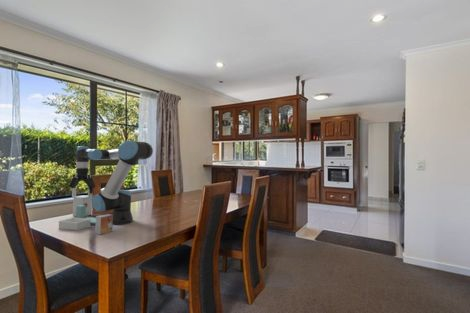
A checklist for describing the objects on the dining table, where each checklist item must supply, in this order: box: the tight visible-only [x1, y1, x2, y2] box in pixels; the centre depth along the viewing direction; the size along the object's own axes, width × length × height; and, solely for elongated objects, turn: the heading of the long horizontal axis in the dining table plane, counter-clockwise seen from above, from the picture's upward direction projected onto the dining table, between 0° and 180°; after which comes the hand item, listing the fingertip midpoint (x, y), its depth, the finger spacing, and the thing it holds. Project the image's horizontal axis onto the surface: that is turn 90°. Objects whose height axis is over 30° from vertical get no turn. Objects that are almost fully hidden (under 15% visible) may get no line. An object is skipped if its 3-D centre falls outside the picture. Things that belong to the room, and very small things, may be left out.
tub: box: [58, 216, 91, 232], centre depth 158 cm, size 14×10×5 cm
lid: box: [75, 205, 96, 224], centre depth 172 cm, size 19×11×11 cm, turn 77°
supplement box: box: [72, 195, 93, 217], centre depth 190 cm, size 9×9×15 cm
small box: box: [94, 213, 114, 235], centre depth 151 cm, size 8×6×10 cm
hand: (81, 197), depth 174 cm, fingers open, 13 cm apart
